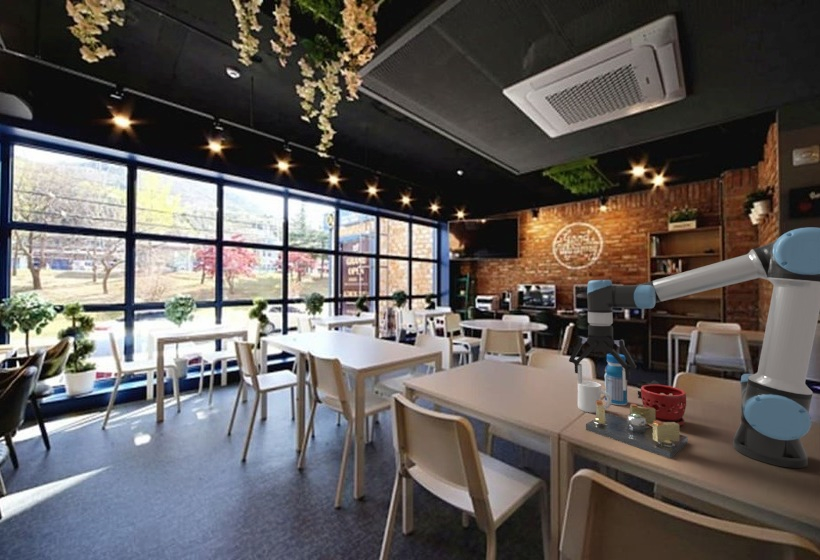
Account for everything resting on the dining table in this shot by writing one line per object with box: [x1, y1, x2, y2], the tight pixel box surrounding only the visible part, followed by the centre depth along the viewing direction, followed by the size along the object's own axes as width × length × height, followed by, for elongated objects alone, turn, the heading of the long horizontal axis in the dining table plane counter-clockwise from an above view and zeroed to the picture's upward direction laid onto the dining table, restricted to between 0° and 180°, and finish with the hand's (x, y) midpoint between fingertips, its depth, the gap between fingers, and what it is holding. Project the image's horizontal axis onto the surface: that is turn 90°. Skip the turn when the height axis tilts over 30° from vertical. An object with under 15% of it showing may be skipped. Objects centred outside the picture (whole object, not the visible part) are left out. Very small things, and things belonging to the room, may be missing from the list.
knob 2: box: [652, 421, 680, 445], centre depth 104 cm, size 7×3×6 cm, turn 94°
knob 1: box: [594, 400, 606, 424], centre depth 119 cm, size 7×3×6 cm, turn 159°
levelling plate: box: [585, 412, 689, 459], centre depth 113 cm, size 24×17×7 cm
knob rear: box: [629, 403, 655, 426], centre depth 117 cm, size 7×3×6 cm, turn 72°
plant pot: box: [640, 384, 687, 427], centre depth 124 cm, size 13×13×12 cm
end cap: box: [637, 379, 661, 400], centre depth 151 cm, size 10×7×7 cm
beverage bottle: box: [603, 353, 629, 407], centre depth 145 cm, size 8×8×20 cm
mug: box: [577, 380, 612, 414], centre depth 135 cm, size 12×8×10 cm
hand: (601, 386), depth 119 cm, fingers open, 13 cm apart
